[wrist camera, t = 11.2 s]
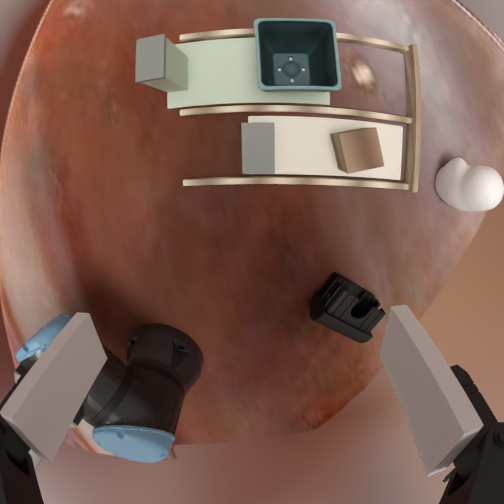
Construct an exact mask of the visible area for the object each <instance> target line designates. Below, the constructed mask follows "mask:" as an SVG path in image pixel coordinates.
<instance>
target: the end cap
mask: <svg viewBox="0 0 504 504" xmlns="http://www.w3.org/2000/svg"><path fill="white" fill-rule="evenodd" d="M379 306H380V303H379V302H378V300H377V299H376V298H375V297H374V295H373V294H372V293H370V292H368V291H367V290H365V289H363V288H362V287H360V286H358V285H357V284H355V283H353V282H352V281H350V280H348V279H347V278H345V277H343V276H342V275H340V274H338V273H336V272H335V273H333V274H332V275H331V276H330V278H329V279H328V280H327V282H326V283H325V284H324V286H323V287H322V288H321V290H320V291H319V292H318V293H317V294H316V296H315V297H314V299H313V301H312V304H311V307H310V317H311V319H312V320H313V321H315V322H317V323H319V324H321V325H323V326H325V327H328V328H330V329H332V330H334V331H336V332H338V333H340V334H342V335H344V336H346V337H348V338H350V339H352V340H355V341H357V342H359V343H365V342H367V341H369V340H370V339H371V338H372V337H373V336H372V334H371V332H370V331H371V330H372V329H373V328H374V327H375V326H376V324H377V323H378V322H379V321H380V320H381V319H382V318H383V316H384V315H385V312H384V310H383V309H382V308H381V309H380V310H378V309H377V308H378V307H379Z"/></svg>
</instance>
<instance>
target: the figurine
mask: <svg viewBox="0 0 504 504" xmlns="http://www.w3.org/2000/svg"><path fill="white" fill-rule="evenodd" d="M435 186H436V191H437V193H438V195H439V196H440V197H441V199H442V200H443V201H445V202H446V203H447V204H449V205H450V206H452V207H454V208H456V209H459V210H463V211H485V210H490V209H492V208H494V207H496V206H497V205H498V204H499V203H500V201H501V199H502V197H503V193H504V186H503V181H502V178H501V177H500V175H499V174H498V172H497V171H496V170H494V169H493V168H491V167H488V166H476V167H472V166H470V165H468V164H467V163H466V162H465V161H464V160H463V159H462V158H460V157H458V158H454V159H452V160H451V161H449V162H448V163H447V164H446V165H445V166H444V167H442V168H441V169H440V170H439V172H438V174H437V176H436V181H435Z"/></svg>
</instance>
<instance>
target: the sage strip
mask: <svg viewBox="0 0 504 504" xmlns="http://www.w3.org/2000/svg"><path fill="white" fill-rule="evenodd" d="M289 60H293V58H292V57H290V58H289ZM278 71H281V68H278ZM302 71H305V68H302ZM290 81H291V82H294V79H293V78H292V79H290ZM136 83H143V84H146V85H149V86H151V87H154V88H157V89H159V90H162V91H165V92H167V100H168V109H173V108H181V107H191V106H203V105H216V104H236V103H300V104H319V105H330V92H324V93H322V92H264V91H262V90H261V89H260V88H259V87H258V82H257V60H256V45H255V38H232V39H218V40H207V41H198V42H190V43H183V44H176V45H174V44H173V43H172V42H171V41H170V40H169V39H167V38H166V35H165V34H162V35H157V36H152V37H148V38H143V39H139V40H137V45H136Z"/></svg>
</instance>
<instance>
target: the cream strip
mask: <svg viewBox="0 0 504 504" xmlns="http://www.w3.org/2000/svg"><path fill="white" fill-rule="evenodd" d="M241 127H242V174H305V175H334V176H353V177H369V178H382V179H394V180H400V174H401V159H402V131H403V127H402V126H396V125H389V124H382V123H374V122H366V121H356V120H346V119H334V118H319V117H298V116H248V123H241ZM371 127H376V128H377V133H378V137H379V142H380V147H381V152H382V157H383V162H384V166H383V167H378V168H374V169H369V170H364V171H359V172H355V173H350V174H347V173H345V172H343V171H341V170H339V169H338V166H337V161H336V157H335V153H334V149H333V144H332V140H331V136H330V134H333V133H338V132H343V131H348V130H354V129H359V128H371Z"/></svg>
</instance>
